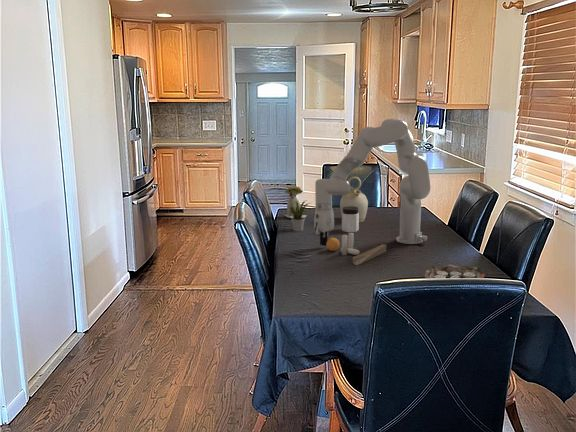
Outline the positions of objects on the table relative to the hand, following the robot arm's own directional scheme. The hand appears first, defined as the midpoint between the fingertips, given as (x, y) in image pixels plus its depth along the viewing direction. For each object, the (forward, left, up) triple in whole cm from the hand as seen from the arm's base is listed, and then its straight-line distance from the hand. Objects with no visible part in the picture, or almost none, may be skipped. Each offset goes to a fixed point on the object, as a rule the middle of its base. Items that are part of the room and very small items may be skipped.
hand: (323, 244), depth 245 cm
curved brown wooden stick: (-25, 0, -2) cm, 25 cm away
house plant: (+30, -20, -2) cm, 36 cm away
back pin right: (-13, -2, -2) cm, 14 cm away
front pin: (-10, 0, 0) cm, 10 cm away
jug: (+19, -54, -2) cm, 57 cm away
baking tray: (-66, +8, -2) cm, 67 cm away
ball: (-6, +1, +2) cm, 6 cm away
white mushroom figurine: (+50, -40, -2) cm, 64 cm away
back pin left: (-13, +3, -2) cm, 14 cm away
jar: (+8, -34, -2) cm, 35 cm away
